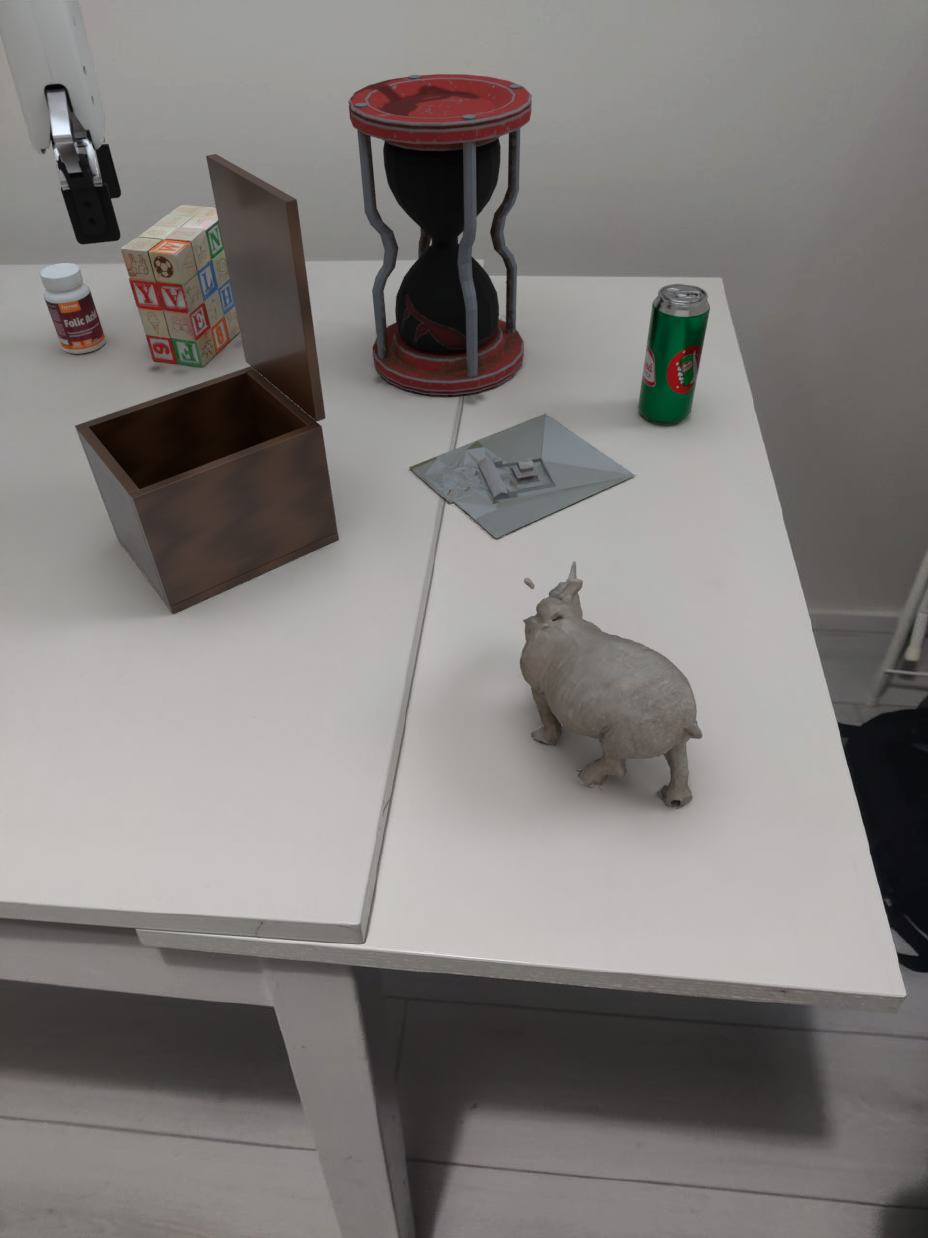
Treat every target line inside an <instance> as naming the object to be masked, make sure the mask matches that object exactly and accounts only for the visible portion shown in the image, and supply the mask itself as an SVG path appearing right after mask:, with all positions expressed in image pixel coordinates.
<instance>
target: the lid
mask: <svg viewBox="0 0 928 1238" xmlns="http://www.w3.org/2000/svg"><path fill="white" fill-rule="evenodd" d="M205 158H206V163H207V168H208V169H207V170H208V175H209V180H210V184H211V190H212V195H213V199H214V206H215V207H216V211H217V216H218V221H219V226H220V231H221V237H222V242H223V247H224V252H225V257H226V262H227V268H228V273H229V278H230V283H231V288H232V294H233V299H234V304H235V309H236V314H237V319H238V325H239V330H240V332H239V335H240V341H241V345H242V351H243V354H244V355H243V356H244V361H245V363H246V364H247V365H249V367H250V366H251V367H252V368H254V369H255V370H256V371H257V372H258V373H259V374H261V375H262V376H263V377H264V378H265V379H266V380H268V381H269V382H270V383H271V384H272V385H274V386H275V387H276V388H277V389H278V390H280V391H281V392H282V393H283V394H284V395H285V396H287V397H288V398H289V399H290V400H291V401H293V402H294V403H295V404H296V405H297V406H298V407H300V408H301V409H302V410H303V411H304V412H306V413H307V414H308V415H309V416H310V417H311V418H313V419H314V420H315V421H316V422H320V421H323V420H325V419H326V411H325V403H324V396H323V389H322V380H321V373H320V365H319V357H318V351H317V343H316V335H315V327H314V320H313V312H312V303H311V297H310V291H309V290H310V289H309V281H308V274H307V265H306V259H305V250H304V244H303V242H304V241H303V236H302V229H301V227H302V226H301V220H300V213H299V206H298V199H297V198H295V197H293V196H292V195H290V194H288V193H286V192H284V191H283V190H282V189H279V188H277V187H275V186H274V185H272V184H270V183H269V182H267V181H265V180H264V179H261V178H259V177H258V176H256V175H255V174H253V173H250V172H249V171H248V170H245V169H244V168H243V167H240V166H238V165H236V164H235V163H233V162H231V161H230V160H228V159H226V158H224V157H223V156H220V155H219V154H217V153H213V154H208V155H206V156H205Z"/></svg>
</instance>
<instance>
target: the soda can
mask: <svg viewBox="0 0 928 1238" xmlns="http://www.w3.org/2000/svg"><path fill="white" fill-rule="evenodd" d="M708 298H709V295H708V292H707V290H705V288H702V287H700V286H697V285H694V284H688V283H671V284H667V285H664V286H661V288H659V290H658V291H657V296H656V297H655V298H654V300H653V301H652V303H651V311H650V317H649V318H650V319H649V324H648V333H647V339H646V345H645V346H646V348H645V354H644V361H643V368H642V369H643V370H642V375H641V376H642V377H641V384H640V391H639V398H638V405H637V406H638V407H637V408H638V411H639V412H640V414H641V416H643V417H644V418H645V419H646V420H648V421H650V422H652V423H655V424H657V425H658V424H659V425H674V424H678V423H681V422H682V421H684V420H685V419H687V417H689V416H690V415H691V413H692V409H693V404H694V397H695V392H696V387H697V380H698V376H699V370H700V365H701V359H702V354H703V348H704V343H705V337H706V333H707V327H708V322H709V318H710V317H709V316H710V311H711V305H710V303H709V301H708V300H709V299H708Z"/></svg>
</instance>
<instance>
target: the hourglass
mask: <svg viewBox="0 0 928 1238" xmlns="http://www.w3.org/2000/svg"><path fill="white" fill-rule="evenodd" d="M532 97H533V94H532V93H531V92H530V91H529V90H528V89H527V88H526V87H525V86H523V85H522V84H518V83H516V82H513V81H510V80H506V79H502V78H497V77H493V76H488V75H487V76H486V75H476V74H466V73H465V74H464V73H463V74H462V73H434V74H411V75H408V76H404V77H403V76H402V77H397V78H390V79H386V80H382V81H379V82H375V83H372V84H368V85H366V86H364V87H362V88H360V89H358V90H356V91H355V92H354V93H353V94H352V96H351V97H350V98H349V99H348V101H347V102H348V113H349V120H350V122H351V125H352V128H354V129H356V131H357V143H358V152H359V153H358V154H359V163H360V164H359V165H360V176H361V185H362V197H363V207H364V214H365V216H366V218H367V220H368V223H369V225H370V226H371V227H372V228H373V229H374V230H375V232H377V233H378V234H379V236H380V239H381V242H382V246H383V247H382V248H383V250H384V253H383V262H382V266H381V267H380V269H379V270H378V272H377V274H376V275H375V278H374V282H373V286H372V290H371V292H372V293H371V294H372V303H373V313H374V315H373V316H374V323H375V336H376V337H375V340H374V342H373V345H372V347H371V348H372V357H373V362H374V366H375V370H376V372H377V373H378V374H379V375H380V376H381V377H382V378H383V379H384V380H385V381H386V382H387V383H390V384H391V385H394V386H396V387H398V388H400V389H402V390H404V389H405V390H404V391H408V390H409V392H413V391H414V392H413V393H417V392H418V393H417V394H421V395H426V394H430V395H429V396H448V395H452V396H459V395H468V394H476V393H479V392H482V391H486V390H489V389H492V388H495V387H498V386H499V385H501V384H503V383H504V382H507V381H508V380H510V379H512V378H513V377H514V376H515V375H516V374H517V372H518V371H519V370H520V368H522V366H523V362H524V355H525V353H524V352H525V341H524V339H523V337H522V336H521V334H520V332H519V330H517V327H516V325H517V290H518V289H517V288H518V264H517V261H516V257H515V255H514V254H513V252H512V251H511V250H510V249H509V248H508V246H507V244H506V240H505V239H506V238H505V232H504V230H505V225H506V219H507V216H508V215H509V213H510V212H511V210H512V209H513V207H514V206H515V205H516V201H517V198H518V195H519V192H520V168H521V167H520V163H521V162H520V161H521V128H523V127H524V126H525V125H527V124H528V123H530V121H531V116H532V103H533V101H532V100H533V99H532ZM505 135H508V153H507V154H508V156H507V158H508V159H507V188H506V191H505V194H504V197H503V199H502V202H501V204H500V205H499V206H498V208H497V209H496V210H495V212H494V213H493V217H492V220H491V221H492V222H491V226H490V230H489V235H490V238H491V242H492V246H493V250H494V251H495V252H496V253H497V254H498V255H499V256H500V257H501V259H502V260H503V265H504V266H505V268H506V285H505V291H506V292H505V320H502V319H500V304H499V298H498V297H499V295H498V292H497V290H496V287H495V285H494V283H493V281H492V279H491V277H490V275H489V274H488V272H487V271H486V270H485V269H484V267H482V265H481V264H480V262H478V260H476V259H475V258H474V256H473V246H474V243H475V241H476V236H477V228H478V227H477V226H478V221H477V219H478V218H477V217H478V216H479V215H480V214H481V213H482V212H483V210H484V209H485V208H486V206H487V205H488V204H489V202H490V201H491V199H492V196H493V195H494V192H495V190H496V187H497V185H498V181H499V175H500V170H501V169H500V168H501V142H500V137H502V136H505ZM371 137H372V138H376V139H378V140H382V141H383V148H382V152H383V153H382V155H383V166H384V171H385V176H386V181H387V185H388V187H389V190H390V192H391V193H392V195H393V197H394V199H395V201H396V202H397V204H398V206H400V208H401V209H402V210H403V212H404V213H405V214H406V215H407V216H408V217H409V218H410V219H411V220H412V221H413V222H414V223H415V224H416V225H417V226H418V227H419V228H420V235H419V240H418V247H417V248H418V251H417V260H416V261H415V262H414V263H413V264H412V265H411V267H410V268H409V269H408V270H407V272H406V273H405V275H404V276H403V278H402V281H401V283H400V286H399V288H398V290H397V293H396V295H395V307H394V308H395V310H394V313H395V322H394V323H392V324H390V325H388V326H387V315H386V302H385V292H384V291H385V287H386V285H387V281H388V279H389V277H390V276H391V274H392V273H393V272H394V270H395V268H396V266H397V265H396V264H397V259H398V253H399V245H398V242H397V238H396V237H395V233H394V230H393V229H391V227H389V226H388V225H387V224H386V223H385V222H384V221H383V219H382V216H381V214H380V212H379V210H378V206H377V196H376V184H375V183H376V182H375V174H374V173H375V172H374V161H373V148H372V138H371ZM461 234H462V237H461V239H460V241H459V236H460V235H461Z"/></svg>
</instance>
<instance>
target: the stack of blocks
mask: <svg viewBox="0 0 928 1238" xmlns="http://www.w3.org/2000/svg"><path fill="white" fill-rule="evenodd" d="M120 251H121V256H122V259H123V262H124V266H125V268H126V271H127V275H128V277H129V279H128V281H129V285H130V288H131V293H132V295H133V299H134V302H135V305H136V307H137V309H138V314H139V318H140V320H141V322H142V323H141V324H142V328H143V331H144V334H145V339H146V342H147V345H148V348H149V352H150V355H151V359H152V361H153V362H159V363H168V364H174V365H178V364H179V365H182V366H191V367H198V368H204V367H205V366H206V365H207V364H208V363H209V362H210V361H211V360H212V359H214V357H215V356H216V354H219V353H221V351H222V350H223V349H224V348H225V347H226V346H227V345H228V344H229V343H230V342H231V341H232V340H233V339H234V338H235V337H236V336H237V335H238V334H240V330H239V325H238V319H237V314H236V309H235V304H234V299H233V294H232V288H231V283H230V278H229V273H228V268H227V262H226V257H225V252H224V247H223V242H222V237H221V231H220V226H219V221H218V216H217V211H216V206H215V207H214V206H199V205H189V204H180V205H178V207H176V208H174V209H173V210H171V211H170V212H169V213H168V214H167V215H165V216H163V217H162V218H161V219H159V220H158V221H157V222H155V224H154V225H152V226H150V227H149V228H148V229H146V230H145V231H144V232H142V233H140V234H139V235H138V236H136V237H135V238H133V239H132V240H130V241H128V242H127V243H126V244H125V245H123V246H121V248H120Z"/></svg>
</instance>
